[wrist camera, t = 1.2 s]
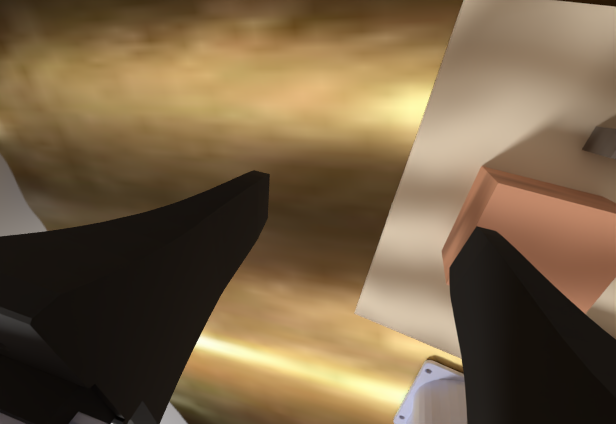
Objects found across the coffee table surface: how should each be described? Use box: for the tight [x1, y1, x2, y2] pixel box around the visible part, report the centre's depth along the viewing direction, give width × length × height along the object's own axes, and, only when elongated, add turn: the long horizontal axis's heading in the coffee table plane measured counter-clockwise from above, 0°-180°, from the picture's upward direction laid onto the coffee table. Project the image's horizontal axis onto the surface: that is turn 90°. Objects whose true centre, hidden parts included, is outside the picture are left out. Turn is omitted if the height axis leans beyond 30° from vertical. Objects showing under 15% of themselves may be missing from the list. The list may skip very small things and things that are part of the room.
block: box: [442, 166, 616, 314], centre depth 15 cm, size 6×6×4 cm
